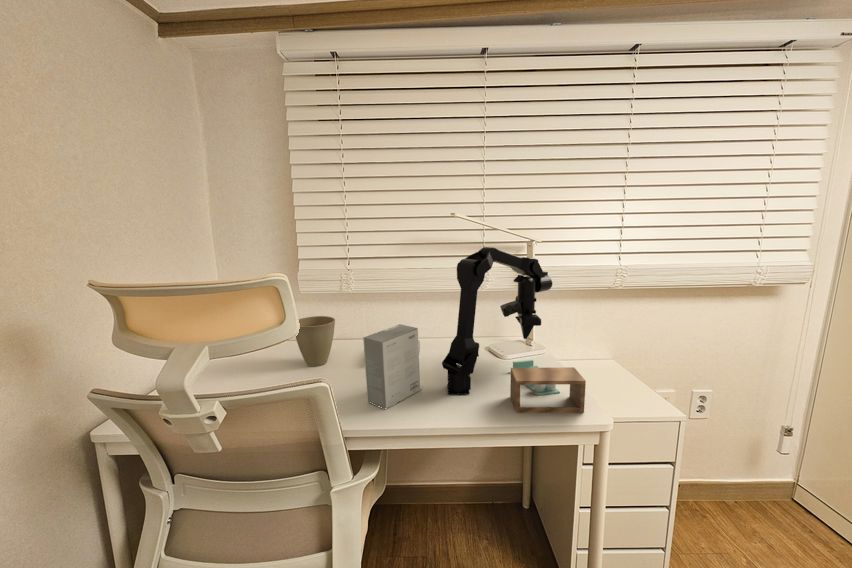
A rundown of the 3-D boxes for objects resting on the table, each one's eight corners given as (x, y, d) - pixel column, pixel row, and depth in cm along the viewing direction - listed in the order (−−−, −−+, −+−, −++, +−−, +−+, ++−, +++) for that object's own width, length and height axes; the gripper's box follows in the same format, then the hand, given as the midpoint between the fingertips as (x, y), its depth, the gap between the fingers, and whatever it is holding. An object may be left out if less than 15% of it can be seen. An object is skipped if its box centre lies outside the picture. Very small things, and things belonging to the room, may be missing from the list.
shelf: (515, 412, 105) (516, 381, 103) (510, 396, 114) (510, 367, 112) (584, 412, 104) (585, 380, 102) (572, 396, 113) (574, 367, 111)
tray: (512, 373, 131) (513, 359, 131) (532, 371, 133) (532, 357, 132) (537, 396, 114) (538, 380, 113) (559, 394, 115) (560, 378, 114)
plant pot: (341, 365, 140) (339, 323, 137) (298, 373, 134) (295, 329, 131) (332, 352, 153) (330, 313, 150) (293, 359, 147) (289, 318, 144)
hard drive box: (402, 384, 124) (400, 323, 120) (421, 390, 119) (419, 327, 115) (366, 402, 112) (362, 336, 109) (384, 410, 107) (381, 341, 104)
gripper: (498, 289, 141) (497, 330, 144) (506, 300, 123) (505, 347, 126) (529, 289, 141) (528, 330, 143) (542, 300, 122) (540, 347, 125)
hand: (525, 338), depth 134 cm, fingers closed
